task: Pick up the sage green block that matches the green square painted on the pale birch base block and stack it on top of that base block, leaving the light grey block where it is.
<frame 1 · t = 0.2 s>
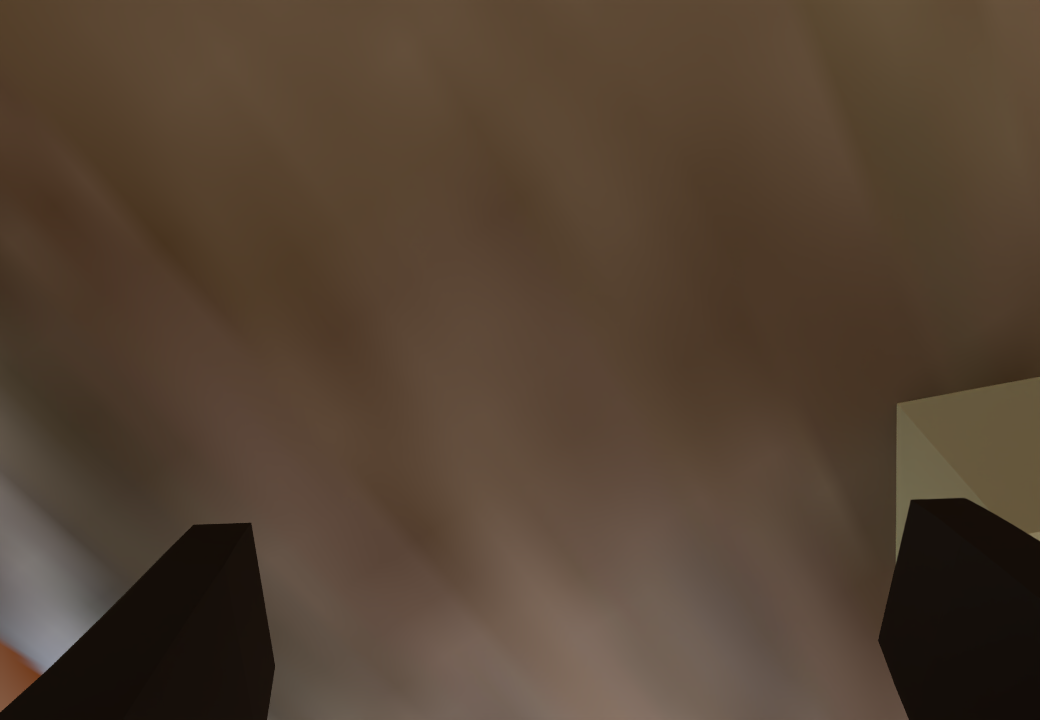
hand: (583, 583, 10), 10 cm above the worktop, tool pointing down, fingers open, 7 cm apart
sage block: (997, 470, 22), on the worktop
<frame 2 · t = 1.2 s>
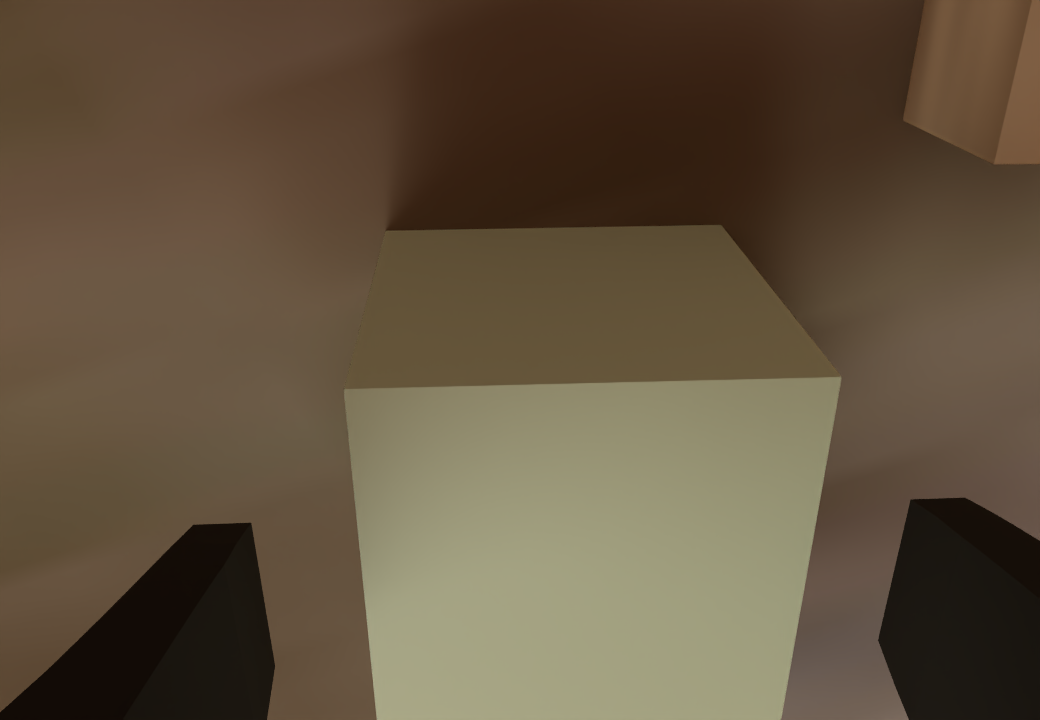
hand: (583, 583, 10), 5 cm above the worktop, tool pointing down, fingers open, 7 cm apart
sage block: (552, 374, 15), on the worktop
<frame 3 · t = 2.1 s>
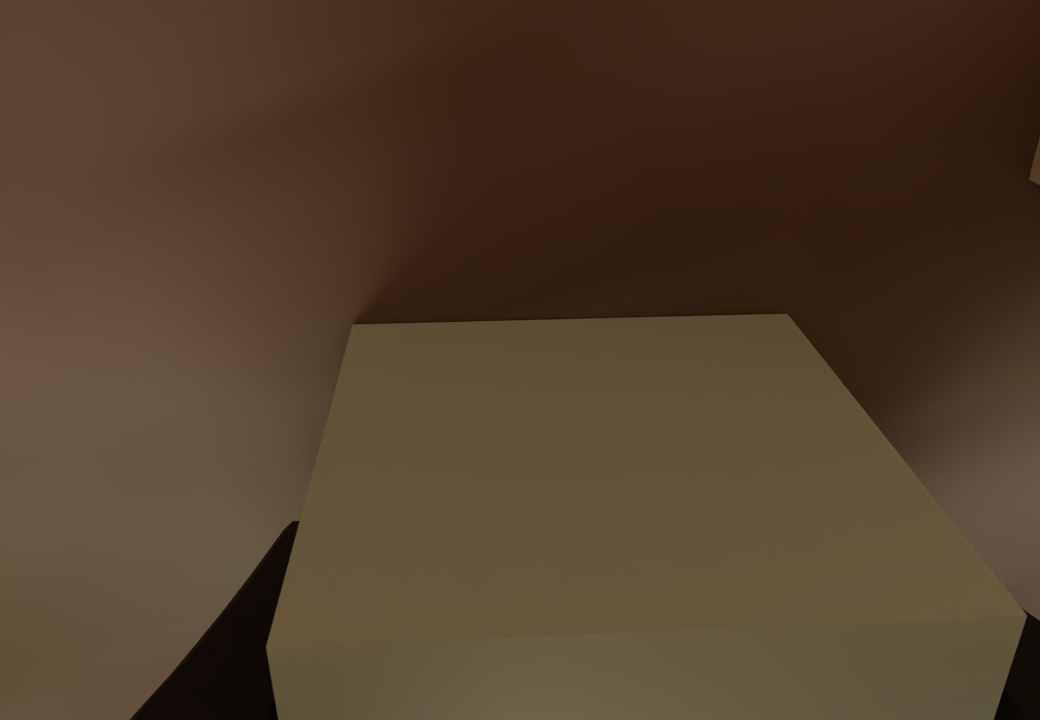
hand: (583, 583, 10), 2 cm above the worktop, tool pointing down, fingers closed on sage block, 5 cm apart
sage block: (567, 499, 11), on the worktop, touching gripper
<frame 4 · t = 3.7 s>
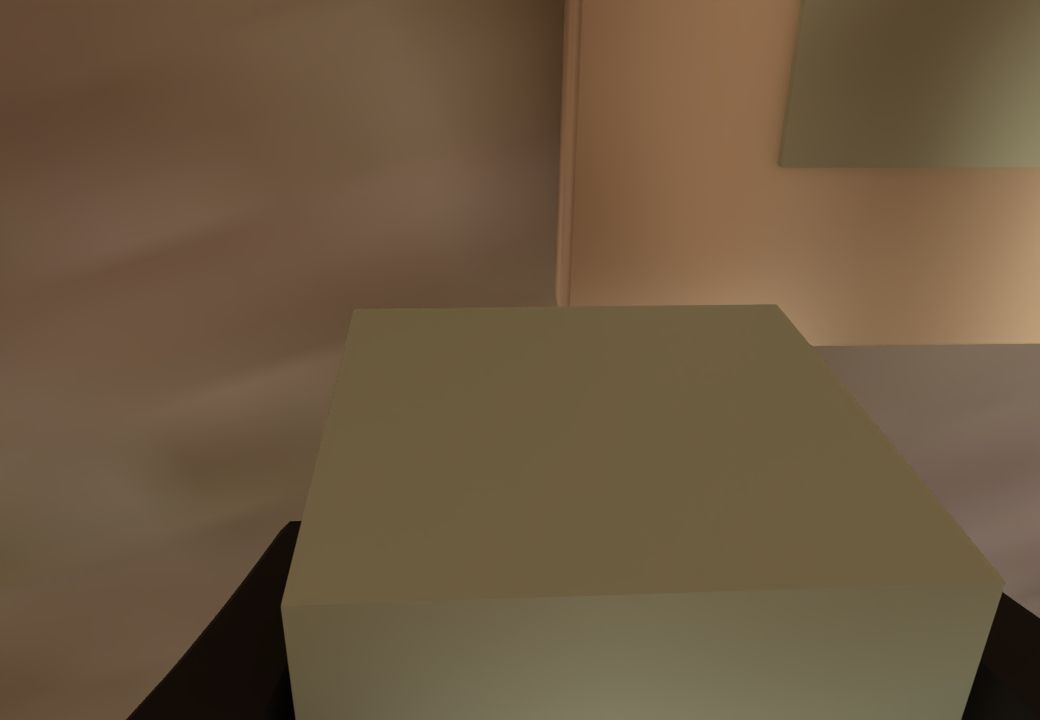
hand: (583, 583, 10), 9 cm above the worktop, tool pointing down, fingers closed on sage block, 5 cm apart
sage block: (561, 484, 12), point 7 cm above the worktop, touching gripper
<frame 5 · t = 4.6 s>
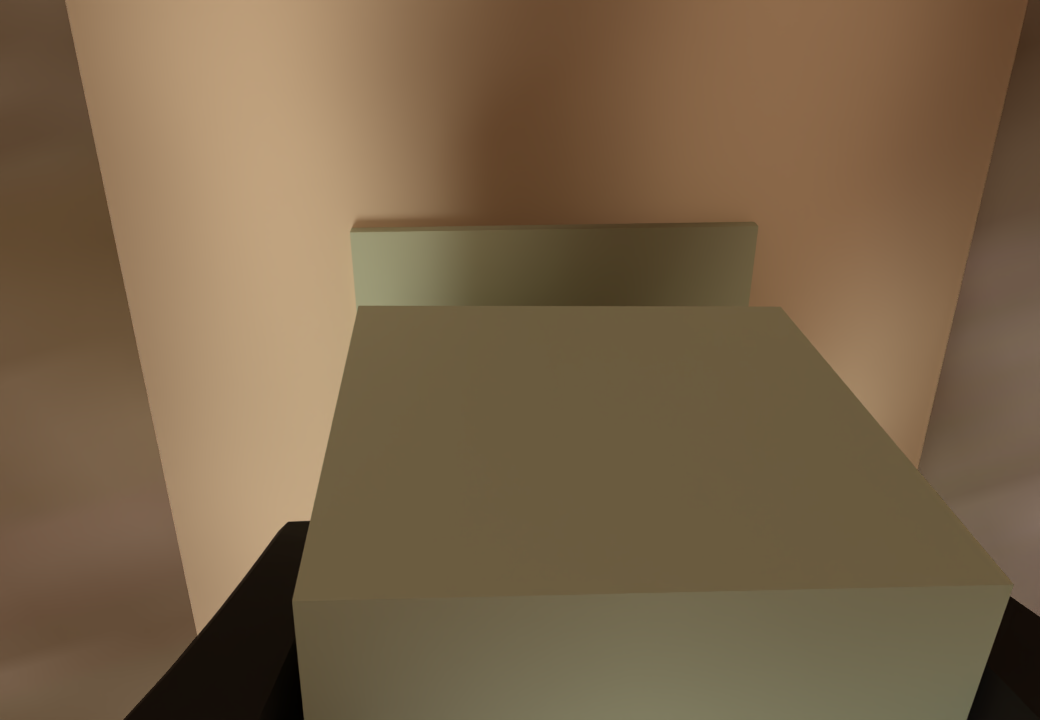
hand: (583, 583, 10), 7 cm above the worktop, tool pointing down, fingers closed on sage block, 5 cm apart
birch base block: (537, 320, 16), on the worktop
sage block: (561, 483, 12), point 5 cm above the worktop, touching gripper
when the fingers open (6 cm above the worktop, at t = 5.2 s): sage block drops 1 cm, point 3 cm above the worktop.
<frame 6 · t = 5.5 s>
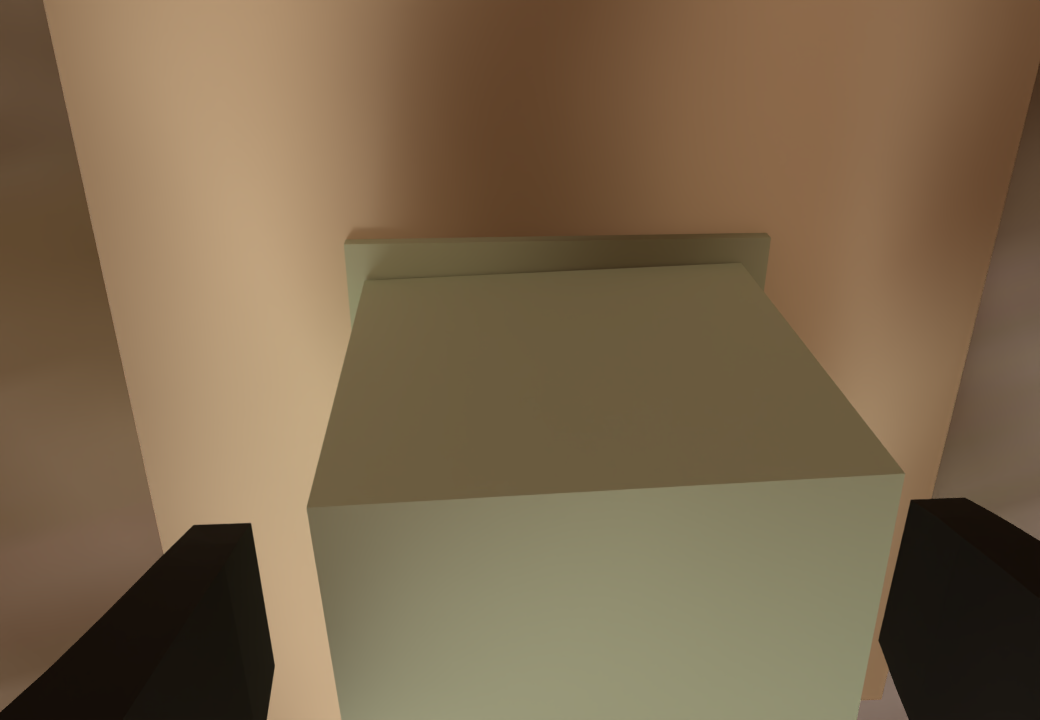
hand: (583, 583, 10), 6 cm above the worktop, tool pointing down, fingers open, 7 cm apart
birch base block: (539, 332, 16), on the worktop
sage block: (556, 433, 13), point 3 cm above the worktop
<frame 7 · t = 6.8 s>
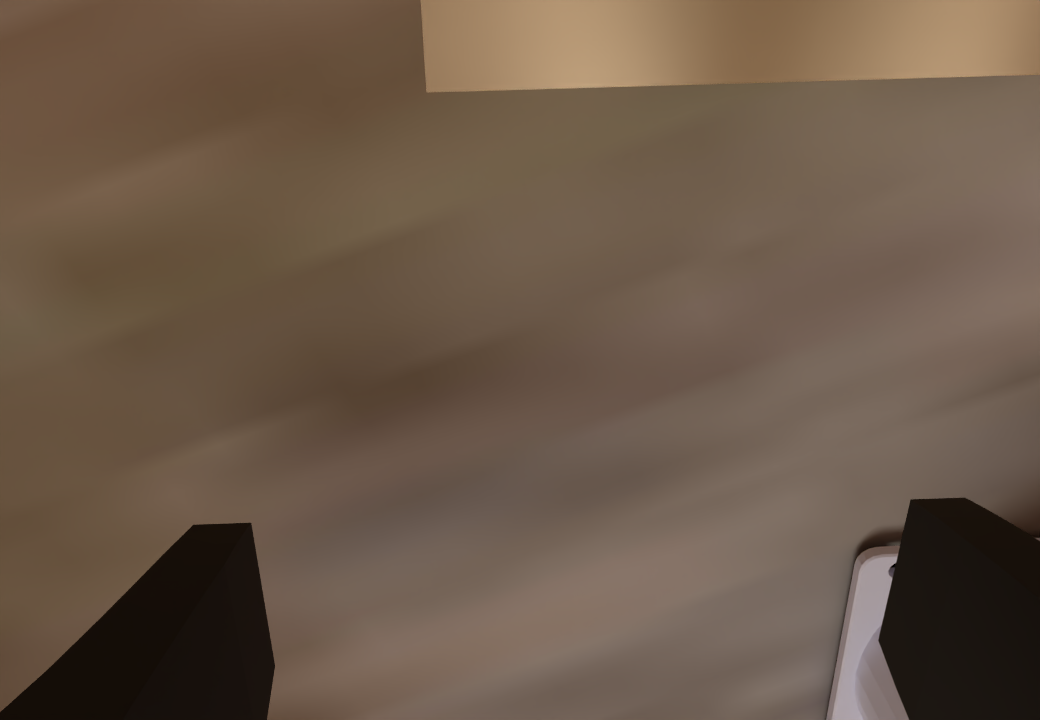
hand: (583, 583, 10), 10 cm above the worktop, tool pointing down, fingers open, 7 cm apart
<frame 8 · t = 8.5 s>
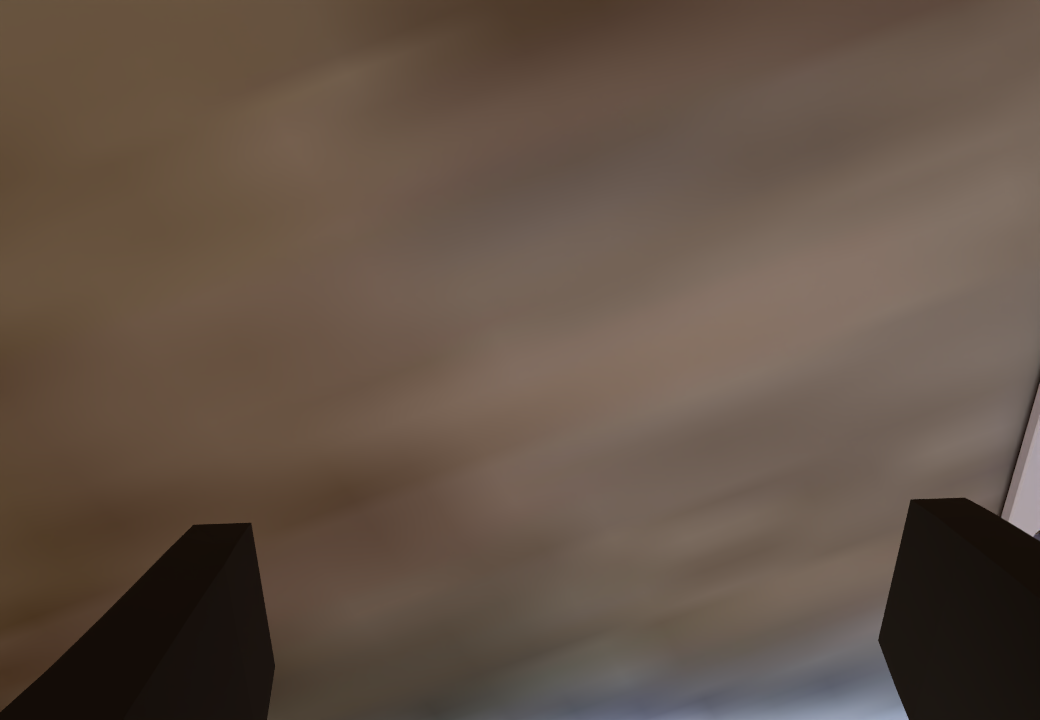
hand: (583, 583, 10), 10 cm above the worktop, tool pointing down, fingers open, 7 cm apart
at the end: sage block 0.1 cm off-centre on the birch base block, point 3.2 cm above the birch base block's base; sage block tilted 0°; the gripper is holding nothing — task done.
